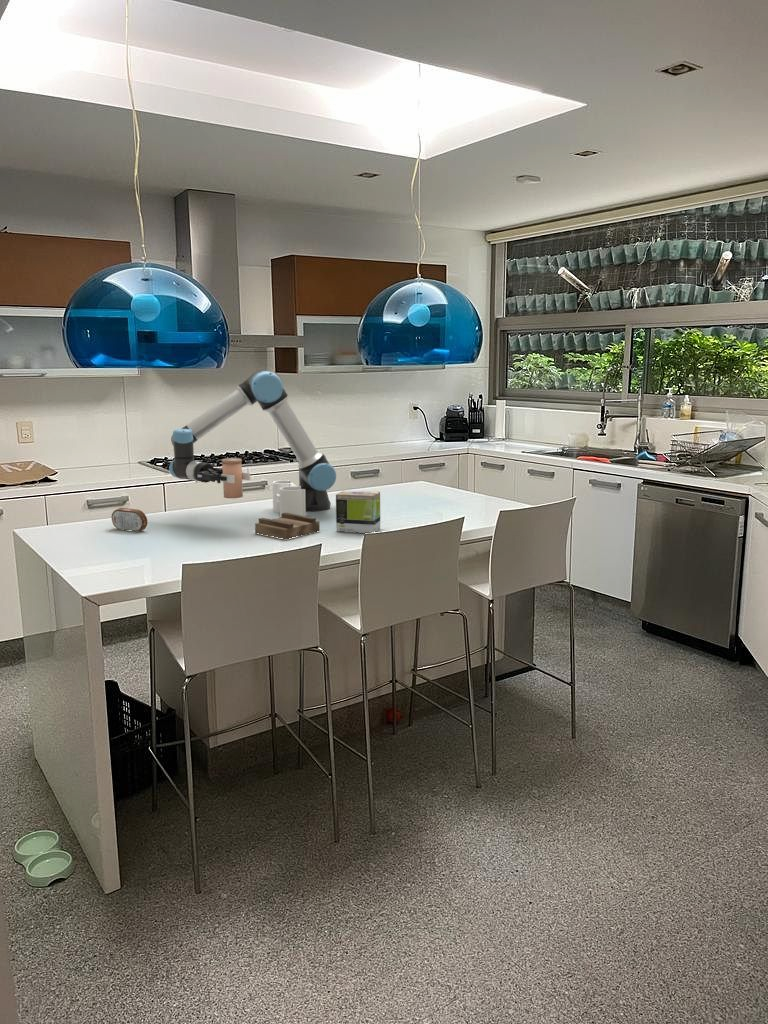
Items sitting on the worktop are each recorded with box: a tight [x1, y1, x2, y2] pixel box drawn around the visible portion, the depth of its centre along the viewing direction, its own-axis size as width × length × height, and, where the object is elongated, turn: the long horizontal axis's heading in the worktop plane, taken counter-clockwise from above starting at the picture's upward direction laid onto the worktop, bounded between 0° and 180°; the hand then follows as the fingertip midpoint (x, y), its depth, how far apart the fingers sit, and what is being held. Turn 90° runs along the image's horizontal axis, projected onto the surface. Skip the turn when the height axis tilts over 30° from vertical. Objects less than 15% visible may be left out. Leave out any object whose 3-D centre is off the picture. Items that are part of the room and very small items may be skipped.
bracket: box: [272, 480, 307, 518], centre depth 333 cm, size 25×10×12 cm, turn 21°
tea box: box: [335, 489, 381, 534], centre depth 304 cm, size 15×10×15 cm
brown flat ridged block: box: [254, 513, 321, 539], centre depth 300 cm, size 18×16×6 cm
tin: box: [111, 507, 148, 532], centre depth 302 cm, size 15×3×8 cm, turn 68°
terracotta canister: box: [221, 457, 244, 499], centre depth 297 cm, size 7×7×14 cm
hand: (241, 478), depth 293 cm, fingers closed on terracotta canister, 7 cm apart
